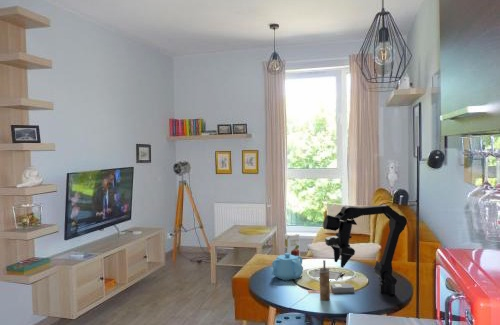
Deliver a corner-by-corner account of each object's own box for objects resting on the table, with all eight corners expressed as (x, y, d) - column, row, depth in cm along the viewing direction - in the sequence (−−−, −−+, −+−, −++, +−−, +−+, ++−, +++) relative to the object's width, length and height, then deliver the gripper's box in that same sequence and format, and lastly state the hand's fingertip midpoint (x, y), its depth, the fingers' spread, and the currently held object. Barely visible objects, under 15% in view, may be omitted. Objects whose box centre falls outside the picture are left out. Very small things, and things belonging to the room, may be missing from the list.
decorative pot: (279, 272, 229) (279, 248, 229) (306, 275, 222) (305, 251, 222) (268, 280, 215) (268, 255, 214) (296, 283, 208) (296, 258, 207)
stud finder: (350, 288, 196) (350, 282, 196) (354, 292, 190) (354, 286, 190) (330, 288, 195) (330, 283, 195) (333, 293, 189) (333, 287, 189)
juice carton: (283, 263, 246) (282, 233, 246) (295, 261, 250) (294, 232, 249) (289, 266, 239) (289, 235, 239) (301, 264, 243) (301, 234, 242)
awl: (328, 297, 184) (327, 259, 184) (330, 300, 180) (330, 261, 179) (319, 297, 184) (318, 259, 184) (321, 301, 180) (320, 262, 179)
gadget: (319, 270, 232) (319, 264, 232) (345, 273, 225) (345, 267, 225) (307, 282, 212) (307, 275, 211) (335, 286, 205) (335, 278, 205)
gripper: (322, 226, 195) (317, 257, 195) (334, 233, 177) (328, 267, 177) (344, 229, 196) (338, 260, 196) (357, 237, 178) (351, 271, 178)
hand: (338, 264), depth 187 cm, fingers open, 9 cm apart
